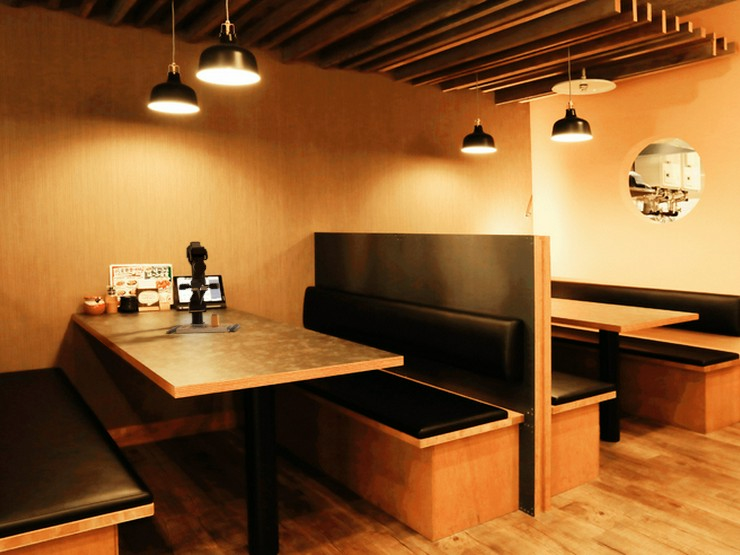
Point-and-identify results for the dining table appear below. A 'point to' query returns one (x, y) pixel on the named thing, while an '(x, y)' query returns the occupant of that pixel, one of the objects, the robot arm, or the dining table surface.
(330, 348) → the dining table surface
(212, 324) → the block
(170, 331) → the cord
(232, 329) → the cord
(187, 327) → the faceplate
